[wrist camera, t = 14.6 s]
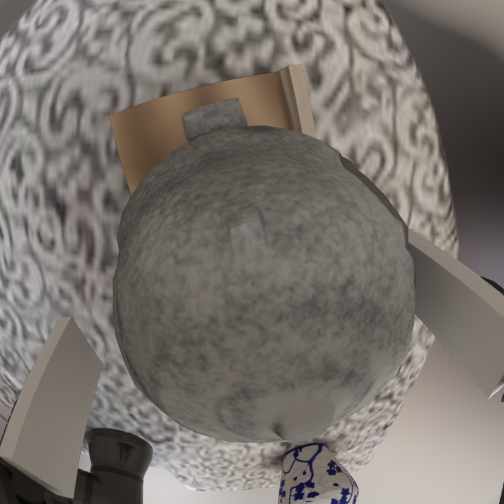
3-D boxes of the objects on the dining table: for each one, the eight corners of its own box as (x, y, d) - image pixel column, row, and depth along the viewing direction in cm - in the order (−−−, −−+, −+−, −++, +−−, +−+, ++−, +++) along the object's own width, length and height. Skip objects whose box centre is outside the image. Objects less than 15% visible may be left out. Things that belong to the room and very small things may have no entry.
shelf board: (167, 286, 32) (163, 308, 28) (111, 116, 23) (95, 115, 20) (319, 248, 33) (333, 266, 29) (290, 71, 24) (304, 64, 20)
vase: (338, 426, 54) (379, 534, 27) (341, 451, 63) (372, 535, 36) (259, 450, 54) (282, 561, 27) (276, 471, 63) (297, 557, 36)
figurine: (255, 103, 24) (496, 44, 2) (284, 236, 31) (410, 458, 8) (155, 130, 24) (-86, 208, 2) (196, 260, 31) (196, 514, 8)
